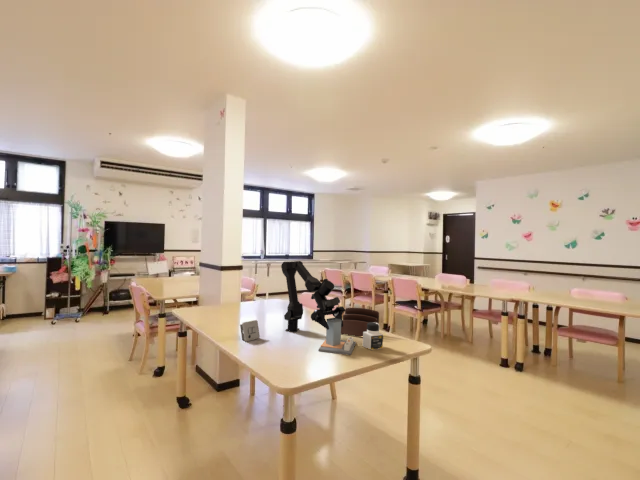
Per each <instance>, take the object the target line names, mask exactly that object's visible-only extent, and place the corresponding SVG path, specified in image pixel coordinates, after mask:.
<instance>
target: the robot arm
mask: <svg viewBox="0 0 640 480" xmlns="http://www.w3.org/2000/svg"><path fill="white" fill-rule="evenodd" d="M280 267H281V271H282V274H283V276H284V277H285V279H286V285H287V293H288V300H289V302H288V305H287V311H286V312H285V314H284V315H283V316H284V317H283V318H284V320H285V321H287V328H286V329H285V330H284V331H285V332H293V333H297V332H299V330H300V328H299V320H302V318H303V315H304V307H303V306H304V305H303V303H301V302H300V300H299V298H298V291H297V283H296V273H298V275H299V276H300V277H301V279H302V280H303V282H304V287H305V288H306V290H307V292H308V293H311V297H310V300H315V303H316V308H317V309H314V310H313V312H312V313H311V314H310V320H311V321H313V322H315V323H317V324H319V325H320V326H322V327H323V328H325V329H327V330H329V326H328V324H327V319H326V316H330V315H332V316H333V318H338V319H341V320H342V321H341V327H343V315H344V314H345V309H346V308H345V307H344V306H339V305H340V303H341V299H340V298H339V296H336V297H334V298H331V299H328V298H327V296H329V294H331V292H332V291H333V290H334V289H335V284H334V282H332V281H331V280H329V279H328V278H324V279H323V280H322V281H320V280H319V279H318V278H316V277H314V275H312V274H311V273H310V272H309V270H308V268H307V267H305V265H304V264H303V261H301V260H293V261H283V262H282V263H281V265H280ZM335 306H336V307H335Z"/></svg>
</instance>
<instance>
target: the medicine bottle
mask: <svg viewBox="0 0 640 480" xmlns="http://www.w3.org/2000/svg"><path fill="white" fill-rule="evenodd" d="M383 342H384V334H382V333H381V332H380V323H379V324H378V323H375V322H369V323H368V324H367V331H366V332H363V337H362V347H363V348H366V349H367V348H369V349H371V350H370V351H373V350H372V349H377V350H379V349H378V348H382V349H383V347H384V346H383V345H384V344H383ZM369 349H368V350H369Z"/></svg>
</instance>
